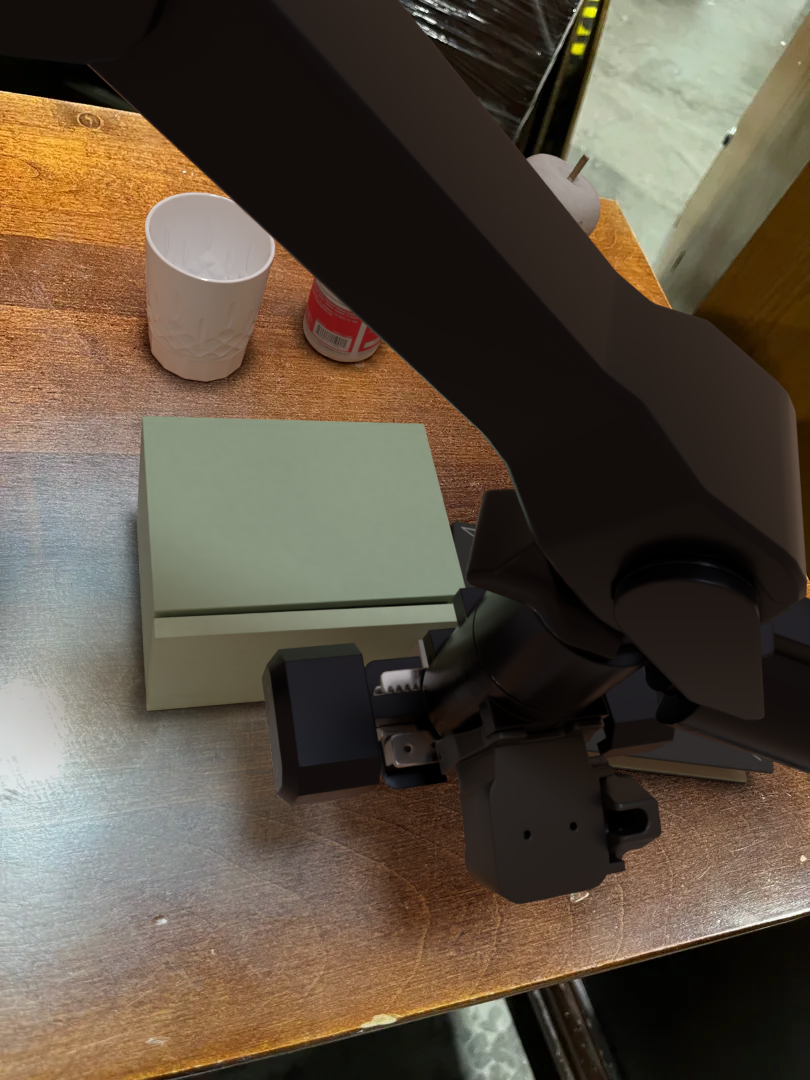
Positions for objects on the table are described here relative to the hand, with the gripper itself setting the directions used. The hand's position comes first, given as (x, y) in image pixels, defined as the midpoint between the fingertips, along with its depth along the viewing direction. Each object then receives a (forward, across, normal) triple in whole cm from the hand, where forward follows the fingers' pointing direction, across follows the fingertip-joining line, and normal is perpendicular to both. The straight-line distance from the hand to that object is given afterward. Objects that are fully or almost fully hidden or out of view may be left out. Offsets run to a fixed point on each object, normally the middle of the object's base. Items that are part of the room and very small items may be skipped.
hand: (424, 753), depth 43 cm
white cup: (+4, -9, +32) cm, 34 cm away
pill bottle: (+5, +2, +34) cm, 34 cm away
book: (+5, +15, +6) cm, 17 cm away
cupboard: (+4, -6, +12) cm, 14 cm away
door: (+4, -6, +3) cm, 8 cm away
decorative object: (+5, +22, +46) cm, 51 cm away
